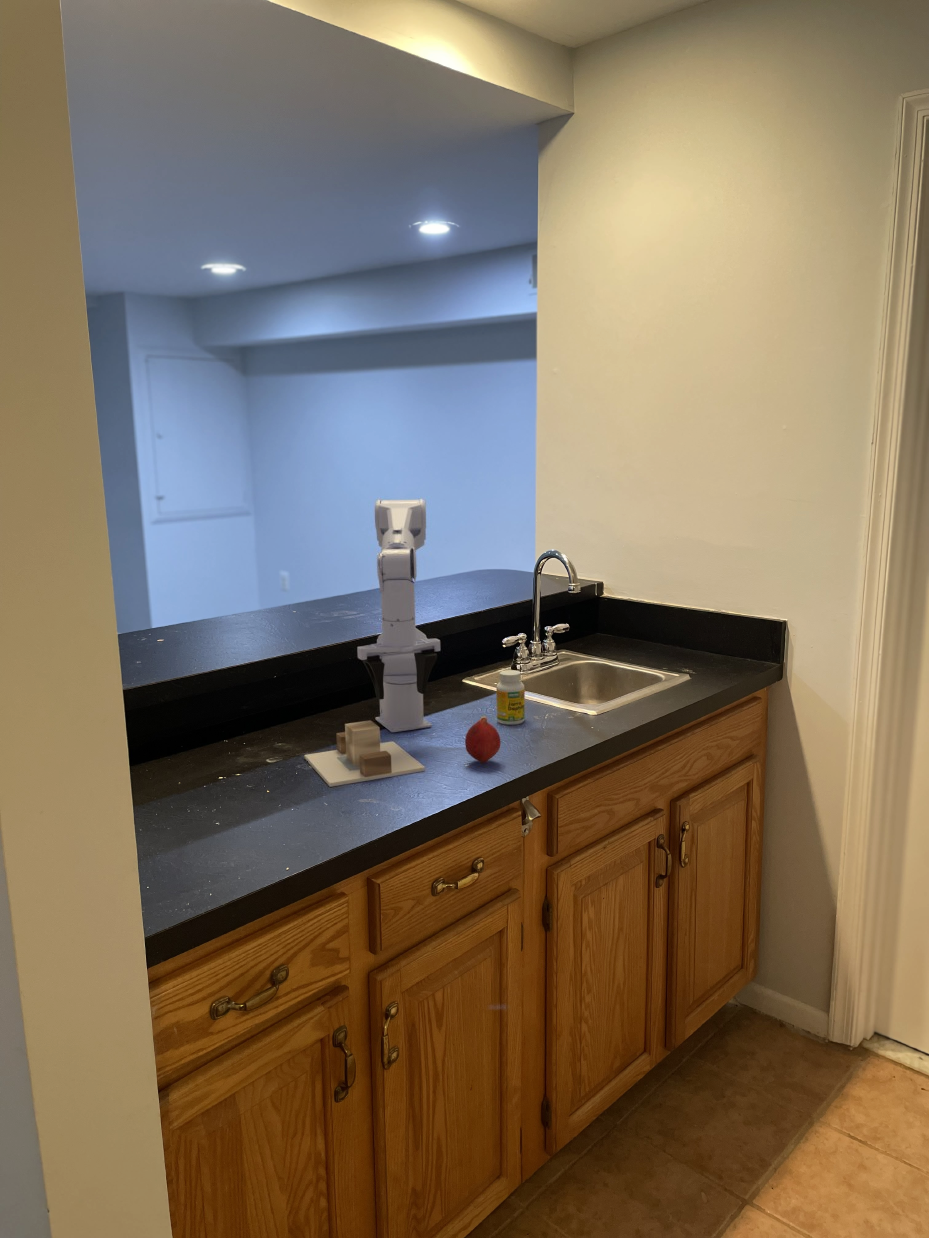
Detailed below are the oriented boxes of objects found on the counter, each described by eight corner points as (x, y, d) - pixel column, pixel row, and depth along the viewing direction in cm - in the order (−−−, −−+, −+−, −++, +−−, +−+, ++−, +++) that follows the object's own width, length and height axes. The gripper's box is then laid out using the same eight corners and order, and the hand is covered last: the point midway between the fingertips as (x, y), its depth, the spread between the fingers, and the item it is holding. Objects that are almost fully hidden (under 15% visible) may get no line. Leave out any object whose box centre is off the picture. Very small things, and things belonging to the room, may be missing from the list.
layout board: (304, 758, 159) (304, 754, 159) (393, 744, 166) (392, 740, 166) (329, 786, 146) (329, 782, 146) (424, 770, 152) (424, 766, 152)
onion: (475, 771, 152) (475, 724, 150) (459, 761, 157) (458, 715, 155) (506, 765, 154) (506, 718, 153) (489, 755, 159) (489, 710, 158)
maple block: (346, 758, 157) (344, 724, 156) (371, 754, 159) (370, 720, 158) (354, 766, 153) (353, 731, 152) (380, 762, 155) (379, 727, 154)
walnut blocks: (337, 749, 162) (336, 733, 161) (361, 746, 163) (361, 729, 163) (364, 777, 148) (364, 759, 148) (391, 772, 150) (391, 754, 150)
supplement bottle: (513, 715, 182) (513, 667, 181) (530, 722, 178) (530, 673, 176) (491, 720, 179) (490, 671, 178) (507, 727, 175) (507, 677, 173)
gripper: (365, 626, 154) (368, 706, 156) (446, 618, 160) (448, 695, 162) (352, 619, 160) (355, 696, 163) (430, 611, 166) (432, 686, 168)
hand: (400, 695), depth 163 cm, fingers open, 7 cm apart
